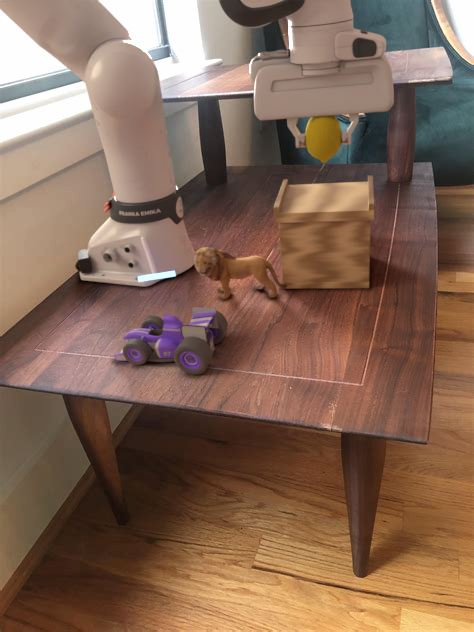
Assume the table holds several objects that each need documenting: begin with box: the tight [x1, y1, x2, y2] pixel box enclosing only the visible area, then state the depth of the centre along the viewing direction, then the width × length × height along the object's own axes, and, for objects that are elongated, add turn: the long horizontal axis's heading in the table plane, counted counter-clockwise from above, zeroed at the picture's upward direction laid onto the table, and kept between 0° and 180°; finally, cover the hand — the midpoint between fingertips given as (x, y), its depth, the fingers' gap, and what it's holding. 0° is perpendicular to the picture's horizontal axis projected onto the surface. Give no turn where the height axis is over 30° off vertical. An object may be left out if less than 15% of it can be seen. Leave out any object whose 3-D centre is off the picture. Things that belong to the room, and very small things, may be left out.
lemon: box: [304, 115, 343, 164], centre depth 83 cm, size 6×6×8 cm
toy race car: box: [113, 306, 229, 376], centre depth 78 cm, size 10×15×6 cm, turn 74°
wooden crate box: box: [273, 175, 375, 290], centre depth 91 cm, size 15×13×15 cm
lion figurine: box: [194, 246, 288, 300], centre depth 89 cm, size 15×5×9 cm, turn 90°
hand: (323, 145), depth 84 cm, fingers closed on lemon, 5 cm apart
